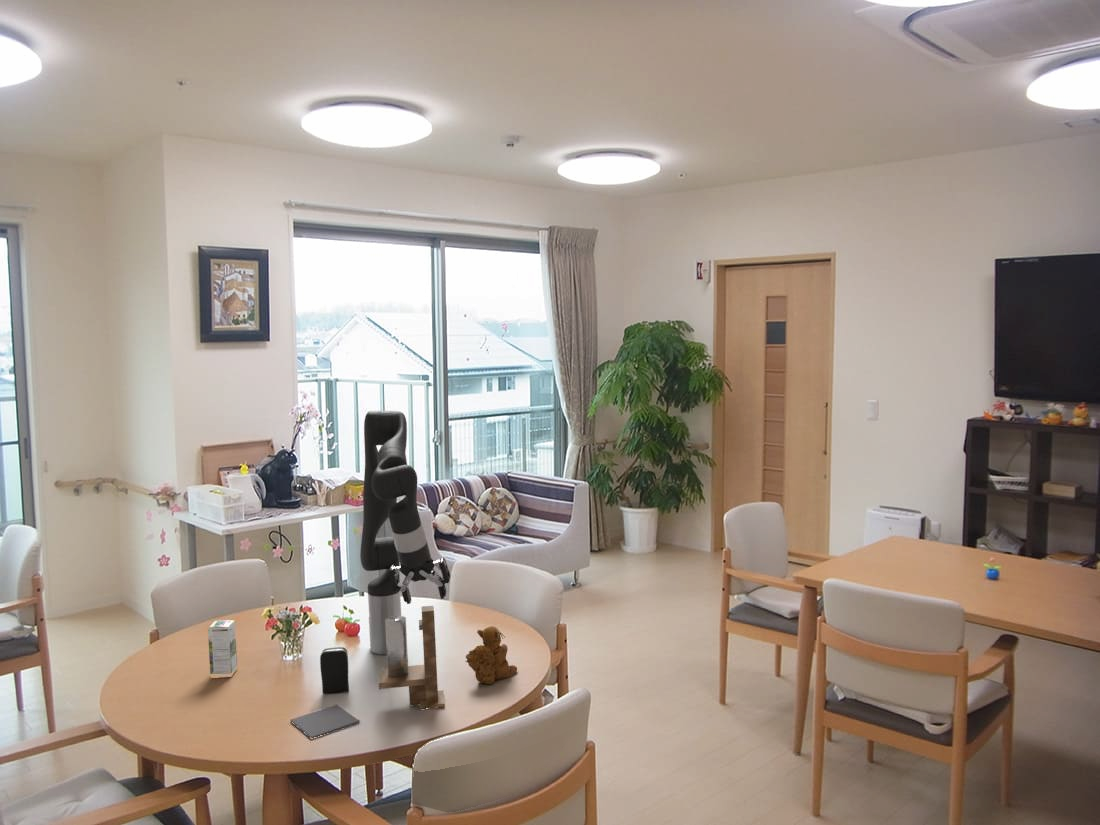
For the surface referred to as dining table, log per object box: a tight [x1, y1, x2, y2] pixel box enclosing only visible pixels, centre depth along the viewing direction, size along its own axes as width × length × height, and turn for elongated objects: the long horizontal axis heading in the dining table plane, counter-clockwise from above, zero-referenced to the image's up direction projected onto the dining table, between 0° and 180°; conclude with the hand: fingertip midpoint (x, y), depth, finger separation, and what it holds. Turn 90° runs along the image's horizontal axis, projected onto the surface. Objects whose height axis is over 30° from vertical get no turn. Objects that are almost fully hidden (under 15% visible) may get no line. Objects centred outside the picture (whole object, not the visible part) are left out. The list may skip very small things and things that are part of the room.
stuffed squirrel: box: [464, 626, 518, 685], centre depth 225 cm, size 10×14×13 cm
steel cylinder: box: [385, 615, 409, 678], centre depth 209 cm, size 5×5×14 cm
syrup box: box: [207, 619, 238, 674], centre depth 233 cm, size 6×6×14 cm
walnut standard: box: [378, 605, 446, 711], centre depth 210 cm, size 16×9×24 cm, turn 99°
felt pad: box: [290, 704, 360, 738], centre depth 202 cm, size 12×12×1 cm
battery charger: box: [319, 646, 350, 695], centre depth 220 cm, size 7×4×11 cm, turn 99°
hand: (426, 599), depth 209 cm, fingers open, 8 cm apart
